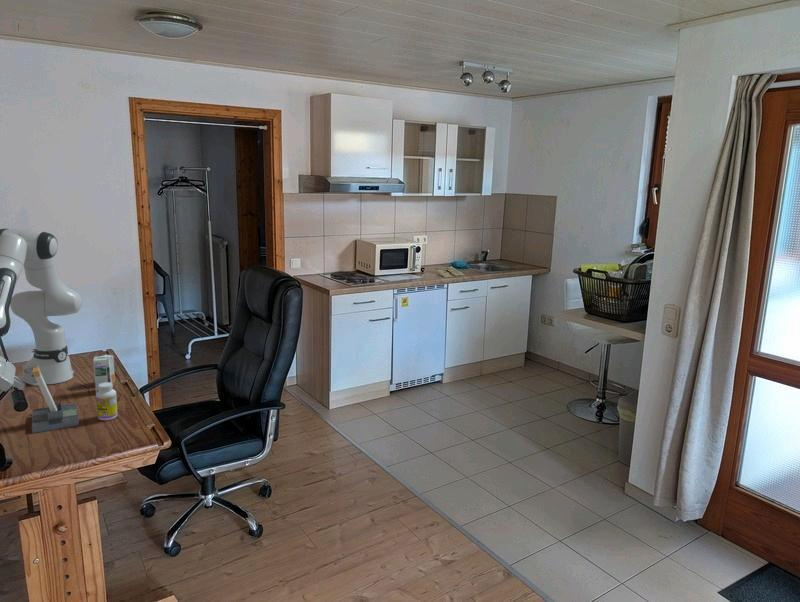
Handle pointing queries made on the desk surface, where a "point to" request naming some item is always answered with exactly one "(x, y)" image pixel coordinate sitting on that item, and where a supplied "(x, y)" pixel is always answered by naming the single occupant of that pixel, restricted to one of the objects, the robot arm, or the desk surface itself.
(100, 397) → the supplement bottle
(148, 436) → the desk surface
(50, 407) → the lever
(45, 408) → the pair of grey rods
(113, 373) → the skincare box
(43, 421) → the breaker panel
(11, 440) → the desk surface
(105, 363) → the syrup box
